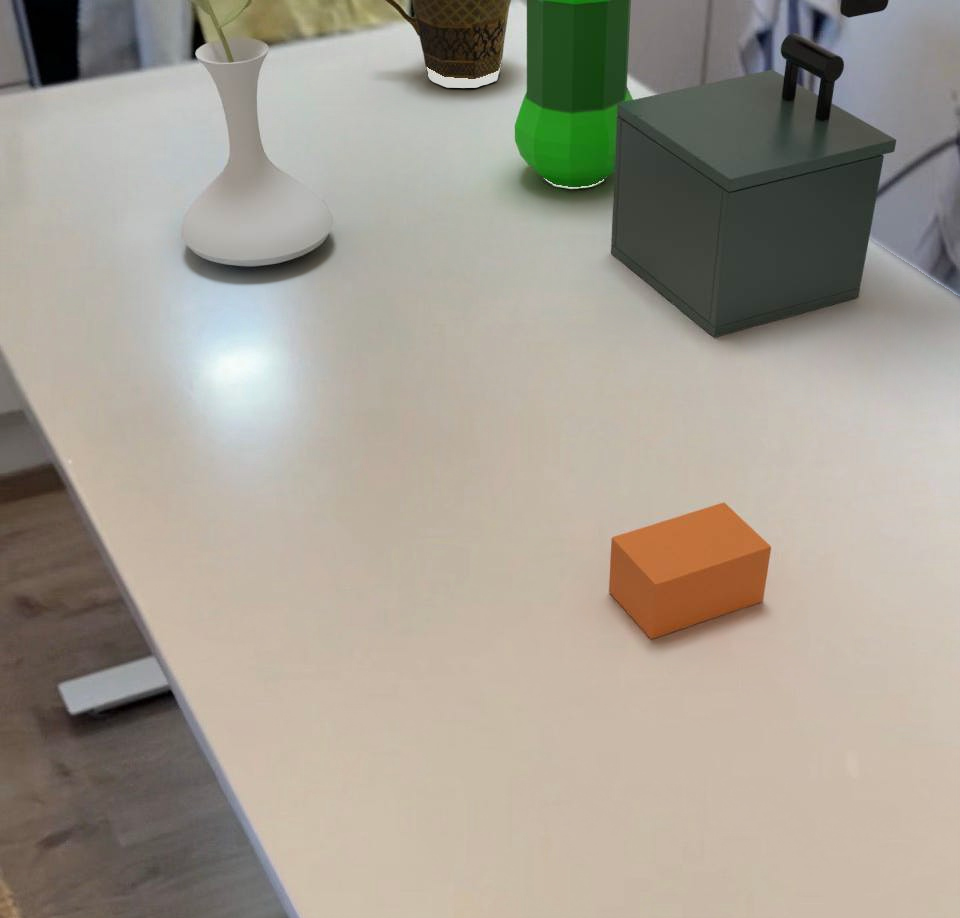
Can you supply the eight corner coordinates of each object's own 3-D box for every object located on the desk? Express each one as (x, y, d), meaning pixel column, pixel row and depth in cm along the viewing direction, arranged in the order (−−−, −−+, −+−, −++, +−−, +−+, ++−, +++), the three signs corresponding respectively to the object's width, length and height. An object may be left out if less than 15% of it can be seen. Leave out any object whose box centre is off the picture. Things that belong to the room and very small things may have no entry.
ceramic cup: (524, 58, 132) (524, -64, 124) (512, 98, 125) (510, -28, 117) (389, 55, 133) (380, -65, 126) (369, 95, 126) (359, -30, 119)
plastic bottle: (664, 172, 113) (690, -203, 95) (577, 215, 108) (588, -173, 90) (572, 140, 118) (580, -223, 100) (485, 179, 113) (477, -195, 95)
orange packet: (717, 556, 78) (724, 501, 76) (763, 601, 75) (772, 546, 73) (608, 591, 76) (610, 537, 74) (650, 639, 73) (655, 584, 71)
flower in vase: (358, 261, 104) (321, -137, 86) (212, 295, 101) (141, -110, 82) (297, 195, 112) (251, -180, 94) (160, 226, 109) (85, -157, 91)
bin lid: (771, 81, 100) (780, 6, 97) (894, 152, 91) (909, 73, 88) (616, 115, 97) (619, 39, 93) (729, 192, 88) (737, 111, 84)
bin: (746, 218, 107) (761, 83, 100) (858, 297, 98) (884, 155, 91) (610, 252, 104) (616, 115, 97) (713, 337, 95) (728, 193, 88)
